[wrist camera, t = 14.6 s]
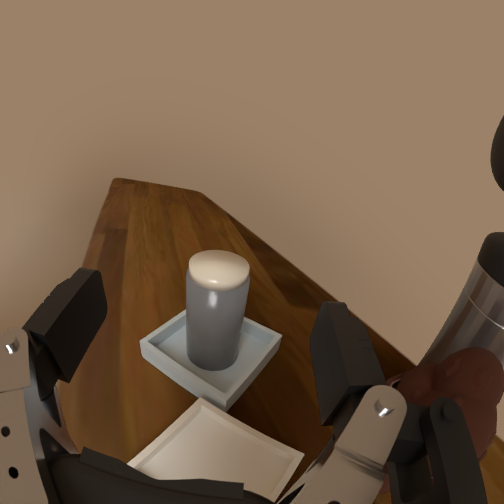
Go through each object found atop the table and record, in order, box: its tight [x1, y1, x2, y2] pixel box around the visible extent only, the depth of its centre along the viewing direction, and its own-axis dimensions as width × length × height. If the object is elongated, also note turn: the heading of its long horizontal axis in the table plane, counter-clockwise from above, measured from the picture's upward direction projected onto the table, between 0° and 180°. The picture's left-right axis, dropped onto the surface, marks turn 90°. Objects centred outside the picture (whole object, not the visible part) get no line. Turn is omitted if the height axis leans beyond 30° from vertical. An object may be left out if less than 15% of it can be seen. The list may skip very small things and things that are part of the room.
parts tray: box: [127, 397, 304, 502], centre depth 16 cm, size 10×10×2 cm
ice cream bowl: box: [378, 347, 504, 493], centre depth 14 cm, size 11×11×15 cm
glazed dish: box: [140, 310, 282, 413], centre depth 29 cm, size 11×11×2 cm
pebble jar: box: [186, 250, 250, 371], centre depth 26 cm, size 6×6×11 cm
